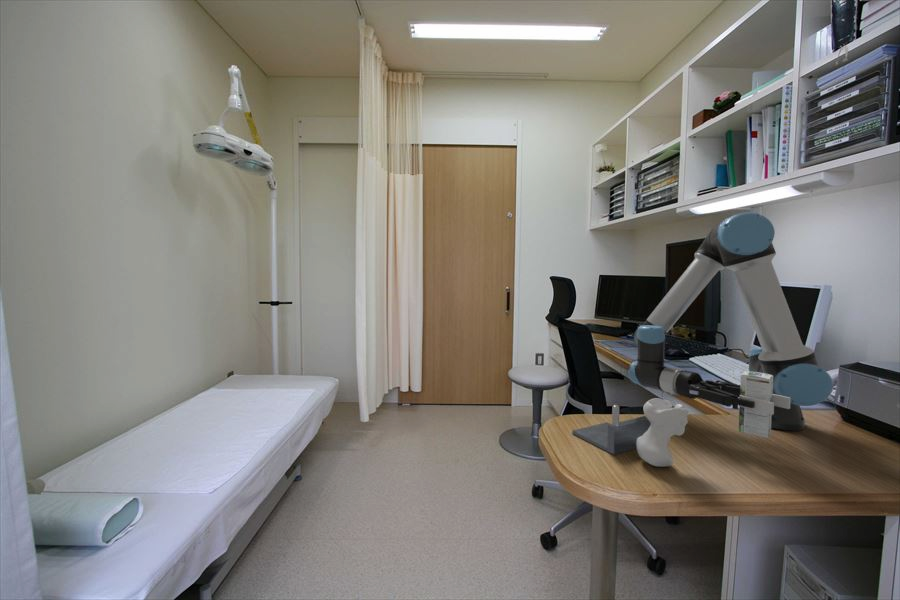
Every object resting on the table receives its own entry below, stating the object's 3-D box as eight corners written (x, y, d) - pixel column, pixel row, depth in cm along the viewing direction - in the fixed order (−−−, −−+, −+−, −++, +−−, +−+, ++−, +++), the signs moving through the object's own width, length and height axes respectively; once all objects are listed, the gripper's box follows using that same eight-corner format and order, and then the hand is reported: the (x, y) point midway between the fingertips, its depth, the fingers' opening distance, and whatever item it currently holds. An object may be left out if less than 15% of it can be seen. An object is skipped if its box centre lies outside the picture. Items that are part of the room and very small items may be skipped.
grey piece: (607, 425, 109) (608, 386, 108) (650, 444, 96) (651, 400, 96) (572, 433, 103) (573, 392, 102) (613, 455, 90) (615, 408, 90)
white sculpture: (628, 455, 90) (629, 396, 89) (671, 454, 91) (673, 395, 90) (652, 476, 80) (654, 410, 80) (700, 475, 81) (703, 409, 80)
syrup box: (741, 425, 93) (742, 370, 93) (772, 432, 89) (773, 373, 88) (738, 432, 89) (739, 374, 89) (770, 439, 85) (771, 378, 84)
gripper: (702, 390, 109) (801, 414, 89) (659, 400, 101) (758, 429, 80) (702, 366, 109) (802, 384, 89) (659, 374, 100) (759, 396, 80)
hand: (781, 405), depth 84 cm, fingers closed on syrup box, 7 cm apart
